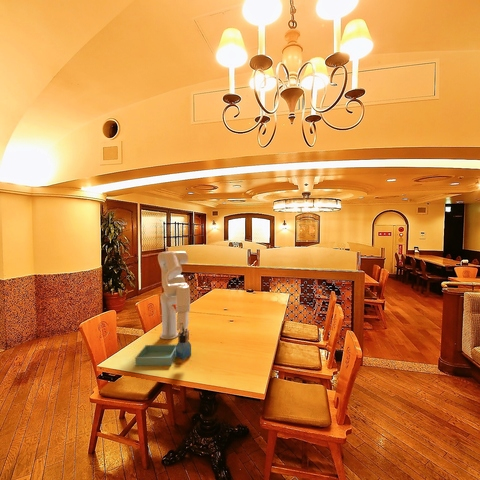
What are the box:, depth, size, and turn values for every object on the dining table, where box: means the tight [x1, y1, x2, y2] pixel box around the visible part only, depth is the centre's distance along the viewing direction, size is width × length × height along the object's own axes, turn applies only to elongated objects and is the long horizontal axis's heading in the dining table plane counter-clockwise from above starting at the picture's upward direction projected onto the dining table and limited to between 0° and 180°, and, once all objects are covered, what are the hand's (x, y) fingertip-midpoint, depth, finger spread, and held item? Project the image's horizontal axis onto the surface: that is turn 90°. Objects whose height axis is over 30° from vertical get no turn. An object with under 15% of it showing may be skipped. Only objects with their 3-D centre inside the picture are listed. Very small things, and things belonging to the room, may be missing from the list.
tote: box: [134, 344, 177, 367], centre depth 147 cm, size 16×20×4 cm
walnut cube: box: [177, 329, 190, 344], centre depth 141 cm, size 5×5×5 cm
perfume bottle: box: [175, 340, 192, 360], centre depth 150 cm, size 6×6×12 cm
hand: (183, 339), depth 141 cm, fingers closed on walnut cube, 5 cm apart
